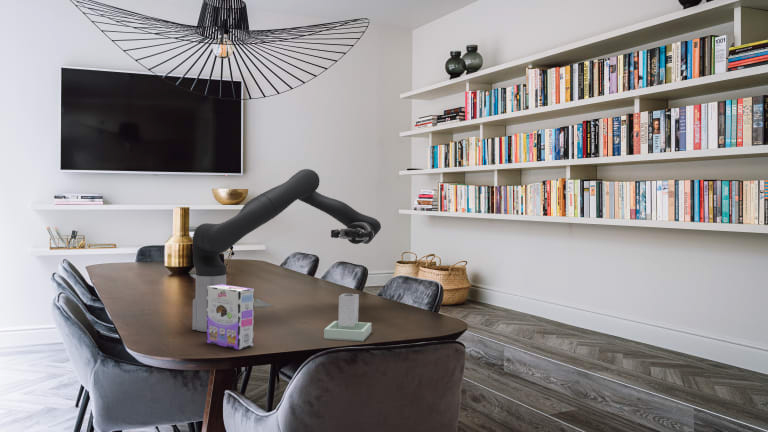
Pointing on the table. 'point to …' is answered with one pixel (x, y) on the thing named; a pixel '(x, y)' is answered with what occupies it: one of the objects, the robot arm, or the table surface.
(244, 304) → the candy box
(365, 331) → the tray
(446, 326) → the table surface
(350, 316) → the bored block
